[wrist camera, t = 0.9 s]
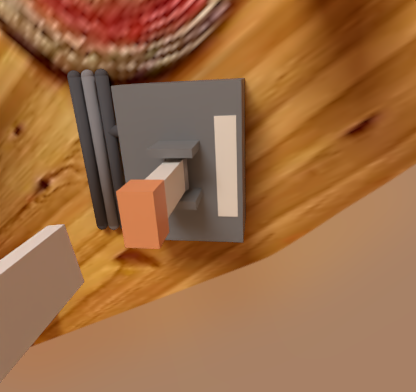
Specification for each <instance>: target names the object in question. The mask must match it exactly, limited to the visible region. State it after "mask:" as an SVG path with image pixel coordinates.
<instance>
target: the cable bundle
mask: <svg viewBox="0 0 416 392" xmlns="http://www.w3.org/2000/svg"><path fill="white" fill-rule="evenodd" d="M67 77H68V82H69V87H70V92H71V97H72V102H73V107H74V112H75V118H76V123H77V128H78V133H79V138H80V143H81V148H82V153H83V158H84V163H85V168H86V173H87V178H88V183H89V188H90V193H91V198H92V203H93V208H94V213H95V218H96V223H97V227H98V228H99V229H106V228H107V226H109V228H110V229H112V230H116V229H117V228H118V227H119V225H120V227H121V229H122V225H121V219H120V213H119V207H118V201H117V195H116V191H117V190H119V189H120V188H121V187H122V186H123V185H125V181H124V175H123V168H122V162H121V155H120V149H119V143H118V137H119V136H118V130H117V125H116V123H115V117H114V110H113V104H112V97H111V91H110V84H109V78H108V73H107V72H106V71H105V70H104V69H98V70H96V72H95V76H94V74H93V72H92V71H90V70H84V71H83V72H82V73H81V75H80V74H79V72H77V71H74V70H73V71H70V72H69V73H68V76H67ZM95 81H96V82H95ZM96 87H97V88H96ZM97 93H98V94H97ZM98 99H99V100H98ZM99 104H100V106H99ZM100 110H101V111H100ZM101 116H102V117H101ZM102 122H103V123H102ZM103 128H104V129H103ZM104 134H105V135H104ZM105 140H106V141H105ZM106 146H107V147H106ZM107 152H108V153H107ZM108 158H109V159H108ZM109 164H110V165H109ZM110 169H111V170H110ZM111 175H112V176H111ZM112 181H113V182H112ZM113 187H114V188H113ZM114 193H115V194H114ZM115 199H116V200H115ZM116 205H117V206H116ZM117 211H118V212H117ZM118 217H119V218H118ZM119 223H120V224H119Z"/></svg>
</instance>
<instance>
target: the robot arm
mask: <svg viewBox="0 0 416 392" xmlns="http://www.w3.org/2000/svg"><path fill="white" fill-rule="evenodd" d="M83 283H84V279H83V277H82V274H81V271H80V268H79V265H78V262H77V259H76V256H75V254H74V251H73V248H72V245H71V242H70V239H69V236H68V233H67V231H66V228H65V225H64V224H63V225H50V226H47V227H45V228H44V229H42V230H41V231H40V232H38V233H37V234H36V235H34V236H33V237H31V238H30V239H29V240H27V241H26V242H24V243H23V244H22V245H20V246H19V247H18V248H16V249H15V250H13V251H12V252H11V253H9V254H8V255H7V256H5V257H4V258H2V259H1V260H0V382H1V381H2V380H3V379H4V378H5V376H6V375H7V374H8V373H9V372H10V370H11V369H12V368H13V367H14V366H15V364H16V363H17V362H18V361H19V360H20V358H21V357H22V356H23V355H24V354H25V352H26V351H27V350H28V349H29V348H30V346H31V345H32V344H33V343H34V342H35V340H36V339H37V338H38V337H39V336H40V334H41V333H42V332H43V331H44V330H45V328H46V327H47V326H48V325H49V324H50V322H51V321H52V320H53V319H54V318H55V316H56V315H57V314H58V313H59V312H60V310H61V309H62V308H63V307H64V306H65V304H66V303H67V302H68V301H69V300H70V298H71V297H72V296H73V295H74V294H75V292H76V291H77V290H78V289H79V288H80V286H81V285H82V284H83Z"/></svg>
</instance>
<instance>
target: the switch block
mask: <svg viewBox="0 0 416 392" xmlns="http://www.w3.org/2000/svg"><path fill="white" fill-rule="evenodd" d="M111 91H112V97H113V104H114V110H115V117H116V123H117V130H118V136H119V143H120V149H121V156H122V162H123V169H124V175H125V182H126V183H127V182H128V181H130V180H144V179H146V178H147V177H148V176H149V175H150V174H151V173H152V172H153V171H154V170H155V169H156V168H157V167H159V166H160V165H161V164H162V163H163V162H164V161H165V158H187V167H188V180H189V189H188V190H186V191H185V192H184V194H183V195H182V197H181V199H180V200H179V202H178V203H177V205H176V207H175V208H174V210H173V211H172V213H171V214H170V216H169V218H168V223H169V233H168V235H167V237H166V239H165V240H185V241H215V242H243V238H244V229H245V219H246V204H245V78H238V79H218V80H199V81H179V82H160V83H140V84H127V85H116V86H111Z"/></svg>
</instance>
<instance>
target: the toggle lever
mask: <svg viewBox="0 0 416 392" xmlns="http://www.w3.org/2000/svg"><path fill="white" fill-rule="evenodd" d="M188 189H189V180H188V167H187V158H165V161H164V162H163V163H162V164H161V165H160V166H159V167H157V168H156V169H155V170H154V171H153V172H152V173H151V174H150V175H149V176H148V177H147V178H146V179H144V180H130V181H128V182H127V183H126V184H125V185H123V186H122V187H121V188H120V189H119V190H117V191H116V195H117V201H118V207H119V213H120V219H121V225H122V231H123V237H124V243H125V248H150V249H160V248H161V246H162V244H163V242H164V240H165V239H166V237H167V235H168V233H169V223H168V218H169V216H170V214H171V213H172V211H173V210H174V208H175V207H176V205H177V203H178V202H179V200H180V199H181V197H182V195H183V194H184V192H185V191H186V190H188Z"/></svg>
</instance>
